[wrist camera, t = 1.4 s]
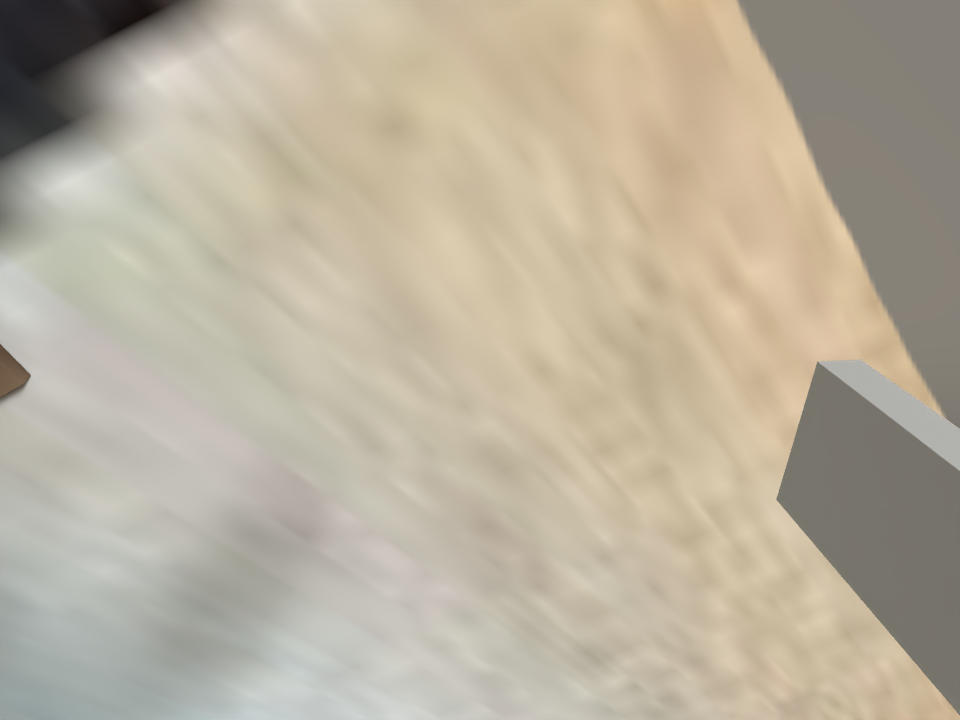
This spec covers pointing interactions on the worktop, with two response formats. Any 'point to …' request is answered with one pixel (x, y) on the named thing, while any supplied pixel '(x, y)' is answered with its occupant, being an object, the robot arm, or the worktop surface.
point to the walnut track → (10, 373)
